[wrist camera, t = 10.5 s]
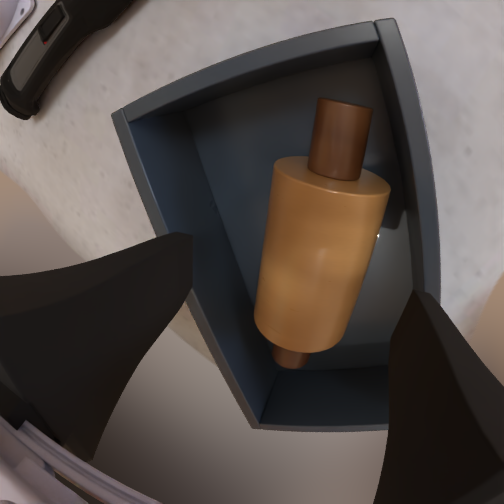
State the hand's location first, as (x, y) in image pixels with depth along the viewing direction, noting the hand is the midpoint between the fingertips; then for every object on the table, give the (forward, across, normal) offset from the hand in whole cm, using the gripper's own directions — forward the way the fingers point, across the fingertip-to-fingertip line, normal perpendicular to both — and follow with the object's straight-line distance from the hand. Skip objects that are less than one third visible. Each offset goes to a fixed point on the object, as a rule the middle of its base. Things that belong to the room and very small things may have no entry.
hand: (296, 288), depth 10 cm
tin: (+5, 0, +1) cm, 5 cm away
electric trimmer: (+5, +13, -10) cm, 17 cm away
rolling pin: (+4, 0, 0) cm, 4 cm away
